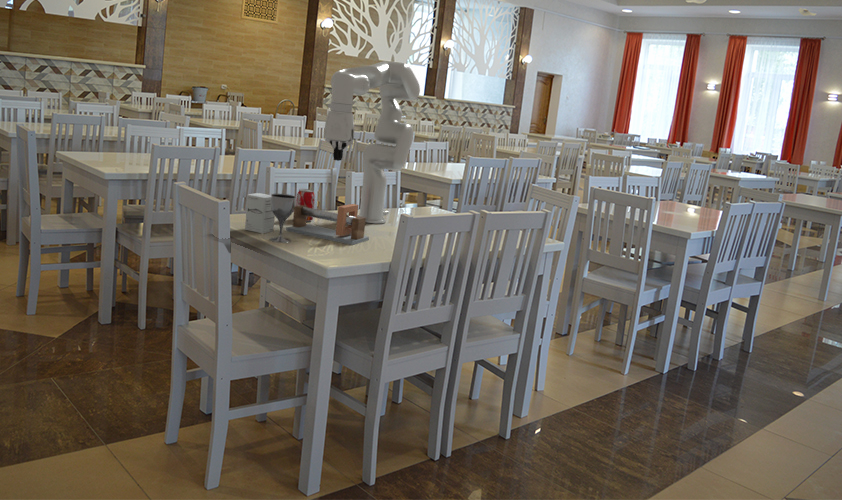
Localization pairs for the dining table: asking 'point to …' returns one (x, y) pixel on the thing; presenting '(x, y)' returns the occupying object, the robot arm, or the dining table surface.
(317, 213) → the pipe
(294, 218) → the posts
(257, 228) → the supplement box
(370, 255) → the dining table surface
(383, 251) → the dining table surface
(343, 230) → the ring
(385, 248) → the dining table surface
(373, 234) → the dining table surface
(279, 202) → the wine glass
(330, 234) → the board
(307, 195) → the soda can
